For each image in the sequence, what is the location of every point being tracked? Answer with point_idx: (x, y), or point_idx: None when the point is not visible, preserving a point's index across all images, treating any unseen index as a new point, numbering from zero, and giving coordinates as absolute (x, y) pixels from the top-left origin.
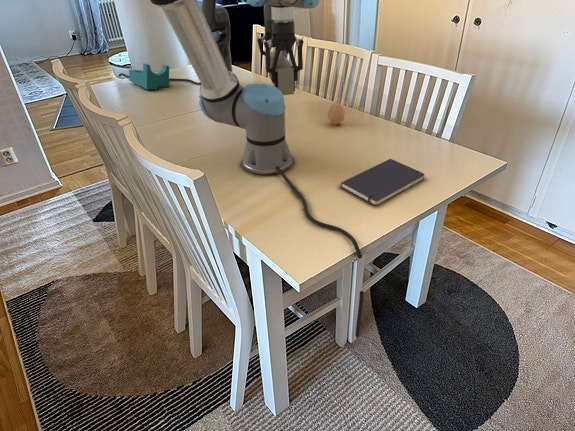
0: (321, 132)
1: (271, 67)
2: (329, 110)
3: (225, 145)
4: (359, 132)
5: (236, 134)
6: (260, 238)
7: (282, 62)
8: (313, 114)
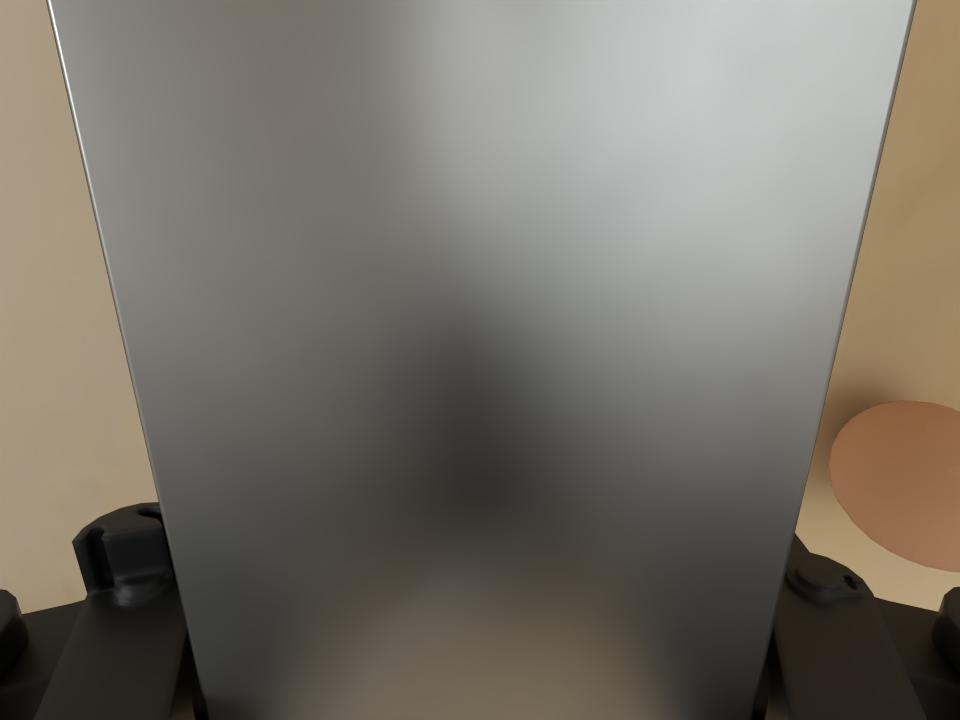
0: None
1: (66, 673)
2: (879, 511)
3: (16, 574)
4: (945, 583)
5: (62, 433)
6: None
7: (509, 354)
8: None
